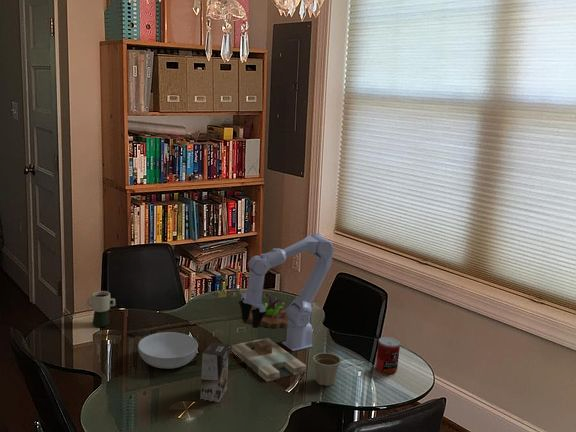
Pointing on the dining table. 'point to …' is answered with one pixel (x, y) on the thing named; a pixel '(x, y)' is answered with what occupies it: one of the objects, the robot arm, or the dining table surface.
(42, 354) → the dining table surface
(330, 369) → the flower pot
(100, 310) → the character mug
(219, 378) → the coffee box
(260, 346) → the walnut block
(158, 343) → the serving bowl
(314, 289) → the robot arm
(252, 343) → the cream slotted board
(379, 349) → the canned food
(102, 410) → the dining table surface
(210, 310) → the dining table surface
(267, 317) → the plant
